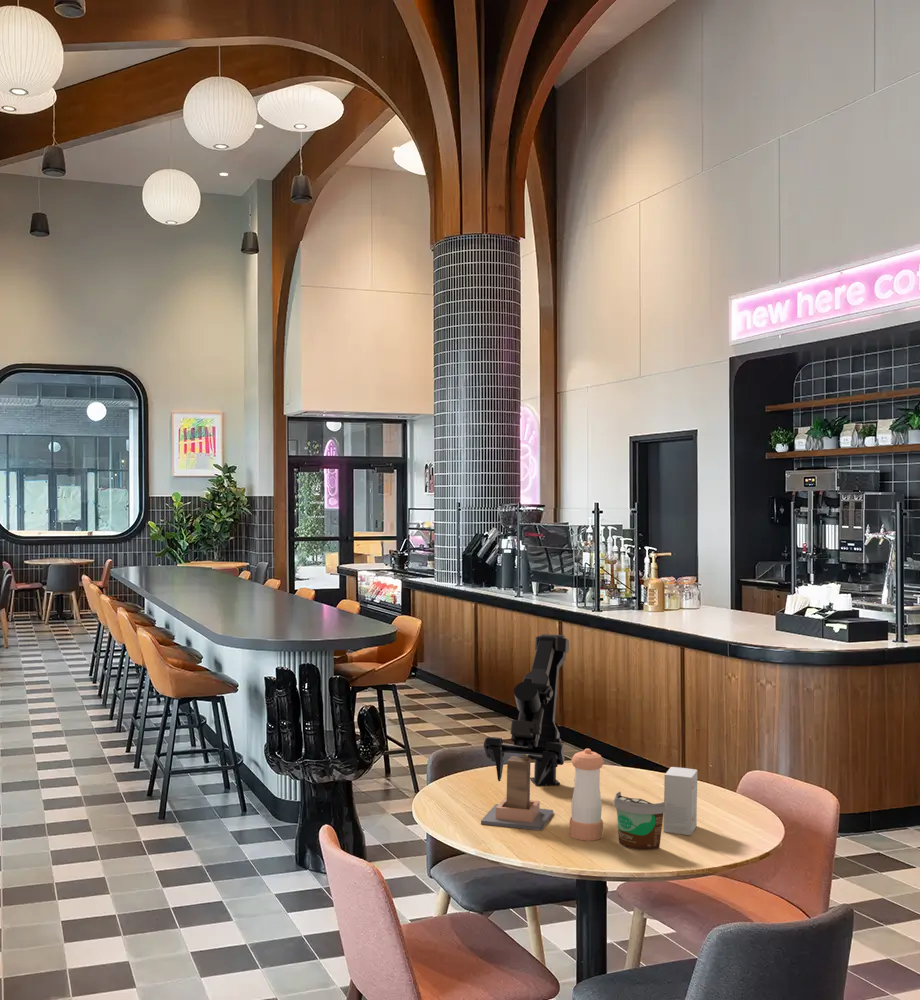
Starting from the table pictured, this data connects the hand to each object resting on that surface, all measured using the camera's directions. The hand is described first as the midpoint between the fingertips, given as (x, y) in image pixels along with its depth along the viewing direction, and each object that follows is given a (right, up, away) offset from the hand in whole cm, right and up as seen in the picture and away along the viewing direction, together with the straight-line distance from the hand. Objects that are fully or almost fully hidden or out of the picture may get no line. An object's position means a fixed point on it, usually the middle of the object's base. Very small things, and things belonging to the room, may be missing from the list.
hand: (518, 782), depth 243 cm
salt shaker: (+14, -9, -11) cm, 20 cm away
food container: (+24, -9, -17) cm, 31 cm away
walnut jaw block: (0, -8, 0) cm, 8 cm away
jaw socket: (0, -9, 0) cm, 9 cm away
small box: (+37, -10, -5) cm, 38 cm away
